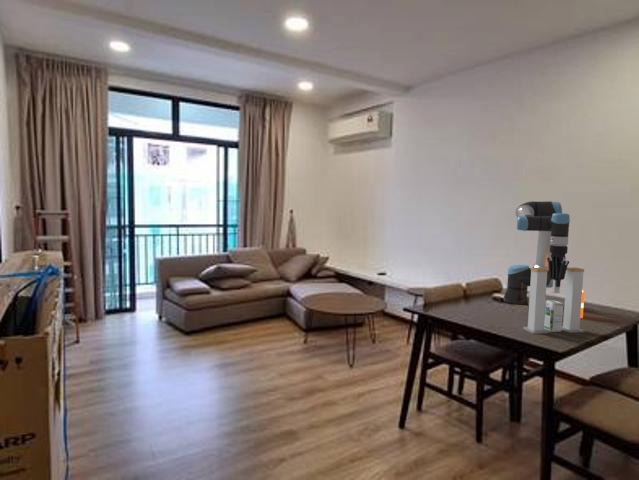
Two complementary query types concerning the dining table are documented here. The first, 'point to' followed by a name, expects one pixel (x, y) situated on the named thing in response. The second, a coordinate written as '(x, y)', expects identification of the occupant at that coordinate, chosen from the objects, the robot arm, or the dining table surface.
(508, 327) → the dining table surface
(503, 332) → the dining table surface
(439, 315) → the dining table surface
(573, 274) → the post
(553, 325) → the syrup box
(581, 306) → the orange juice
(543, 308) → the post
